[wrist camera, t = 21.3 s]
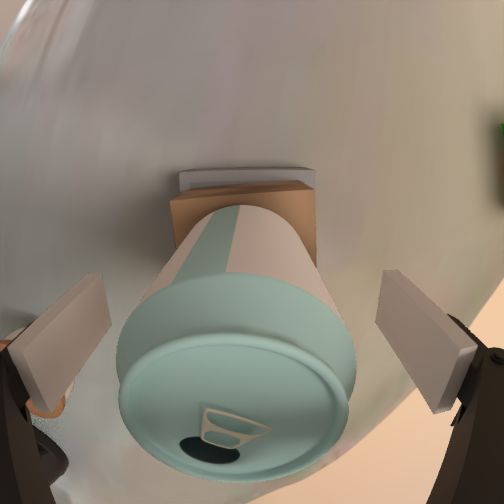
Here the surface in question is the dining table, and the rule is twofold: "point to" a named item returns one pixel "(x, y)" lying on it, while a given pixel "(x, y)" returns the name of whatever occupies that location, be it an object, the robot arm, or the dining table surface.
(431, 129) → the dining table surface
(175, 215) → the walnut brick
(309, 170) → the tower base
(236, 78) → the dining table surface
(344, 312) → the dining table surface
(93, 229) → the dining table surface
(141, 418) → the can
